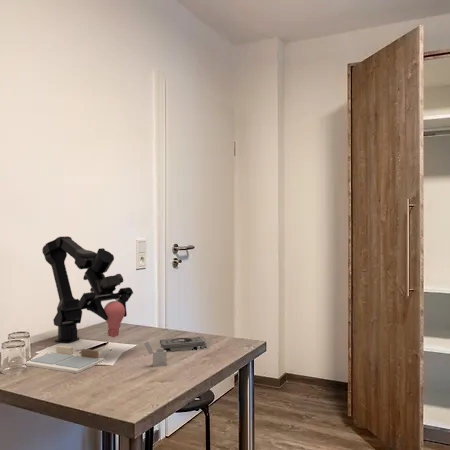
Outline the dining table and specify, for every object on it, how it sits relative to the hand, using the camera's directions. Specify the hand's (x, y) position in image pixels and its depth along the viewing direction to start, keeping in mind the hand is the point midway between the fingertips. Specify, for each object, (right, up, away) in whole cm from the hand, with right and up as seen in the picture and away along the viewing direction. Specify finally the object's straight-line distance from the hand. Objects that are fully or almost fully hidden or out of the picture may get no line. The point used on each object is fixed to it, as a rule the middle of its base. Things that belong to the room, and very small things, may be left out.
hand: (116, 317), depth 151 cm
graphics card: (+21, -14, +14) cm, 29 cm away
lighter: (+14, -13, -8) cm, 21 cm away
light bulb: (-1, -7, +1) cm, 7 cm away
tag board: (-15, -13, -5) cm, 21 cm away
